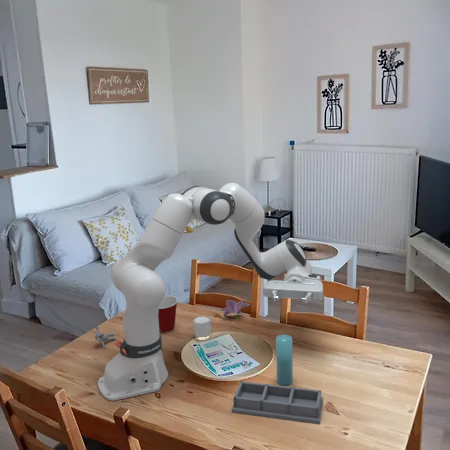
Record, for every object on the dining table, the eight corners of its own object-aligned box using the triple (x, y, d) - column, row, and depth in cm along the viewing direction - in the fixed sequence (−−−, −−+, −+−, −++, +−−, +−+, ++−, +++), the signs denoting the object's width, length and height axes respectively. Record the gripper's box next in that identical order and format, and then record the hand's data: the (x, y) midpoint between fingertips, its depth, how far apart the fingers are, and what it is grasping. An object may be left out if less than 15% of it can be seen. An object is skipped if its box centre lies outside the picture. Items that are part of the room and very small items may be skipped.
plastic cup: (150, 325, 198) (147, 297, 195) (176, 320, 201) (174, 293, 198) (155, 337, 188) (152, 308, 185) (182, 332, 191) (180, 303, 188)
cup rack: (231, 412, 143) (231, 400, 141) (240, 390, 153) (240, 378, 152) (319, 424, 136) (319, 411, 135) (322, 400, 146) (323, 388, 145)
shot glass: (209, 341, 183) (208, 324, 181) (191, 340, 184) (190, 323, 183) (213, 332, 190) (212, 316, 188) (196, 332, 191) (195, 315, 189)
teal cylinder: (282, 387, 153) (282, 344, 149) (273, 380, 157) (272, 337, 153) (295, 382, 155) (295, 339, 151) (286, 375, 160) (285, 333, 156)
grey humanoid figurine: (123, 344, 185) (104, 345, 178) (114, 352, 187) (95, 354, 180) (114, 321, 190) (95, 321, 182) (105, 329, 192) (86, 330, 185)
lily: (255, 318, 202) (249, 295, 204) (248, 320, 191) (242, 295, 193) (228, 325, 205) (222, 303, 207) (219, 327, 194) (213, 303, 196)
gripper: (266, 273, 176) (258, 289, 163) (325, 276, 170) (321, 293, 158) (267, 290, 178) (259, 306, 165) (325, 293, 172) (321, 311, 159)
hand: (290, 300), depth 161 cm, fingers open, 8 cm apart
